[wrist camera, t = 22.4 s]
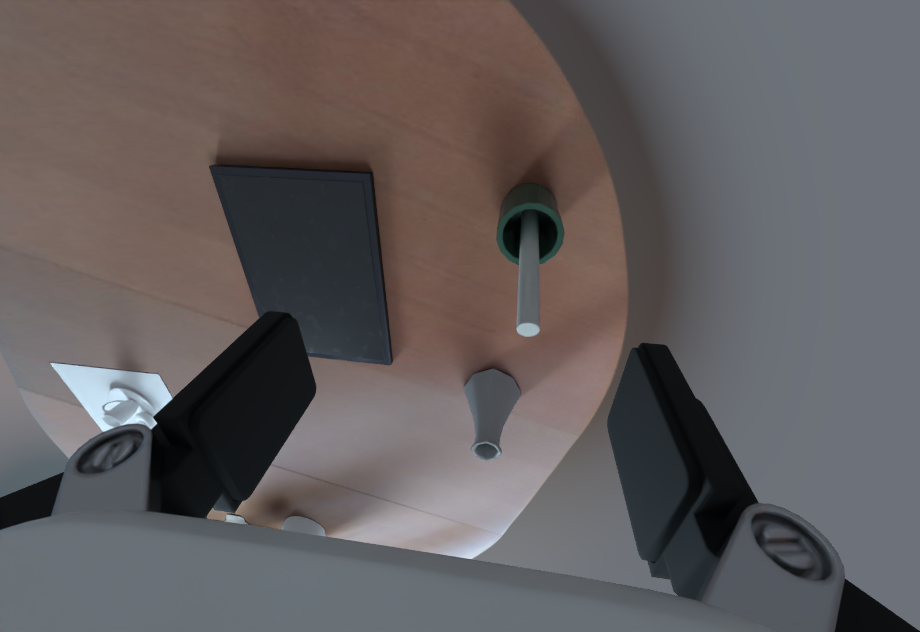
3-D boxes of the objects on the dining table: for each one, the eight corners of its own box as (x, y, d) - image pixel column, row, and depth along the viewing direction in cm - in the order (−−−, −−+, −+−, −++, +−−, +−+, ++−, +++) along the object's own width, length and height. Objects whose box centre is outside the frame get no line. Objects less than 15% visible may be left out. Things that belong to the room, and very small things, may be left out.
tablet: (214, 164, 38) (207, 166, 37) (372, 171, 36) (369, 173, 35) (274, 348, 51) (270, 353, 50) (393, 361, 49) (390, 366, 48)
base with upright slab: (331, 540, 79) (303, 606, 69) (295, 538, 81) (262, 602, 71) (316, 517, 74) (284, 584, 64) (277, 515, 76) (240, 580, 66)
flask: (491, 415, 52) (485, 479, 43) (454, 385, 50) (440, 446, 41) (531, 392, 48) (532, 456, 40) (493, 359, 46) (487, 419, 38)
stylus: (522, 198, 34) (517, 321, 25) (539, 199, 34) (541, 323, 25) (520, 213, 36) (515, 335, 26) (537, 214, 35) (538, 337, 26)
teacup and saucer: (167, 424, 64) (147, 443, 61) (127, 419, 65) (105, 438, 62) (144, 388, 60) (121, 406, 56) (101, 383, 61) (76, 401, 57)
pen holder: (503, 181, 35) (499, 201, 29) (561, 184, 34) (569, 205, 28) (498, 236, 38) (494, 264, 32) (552, 239, 37) (558, 268, 31)
